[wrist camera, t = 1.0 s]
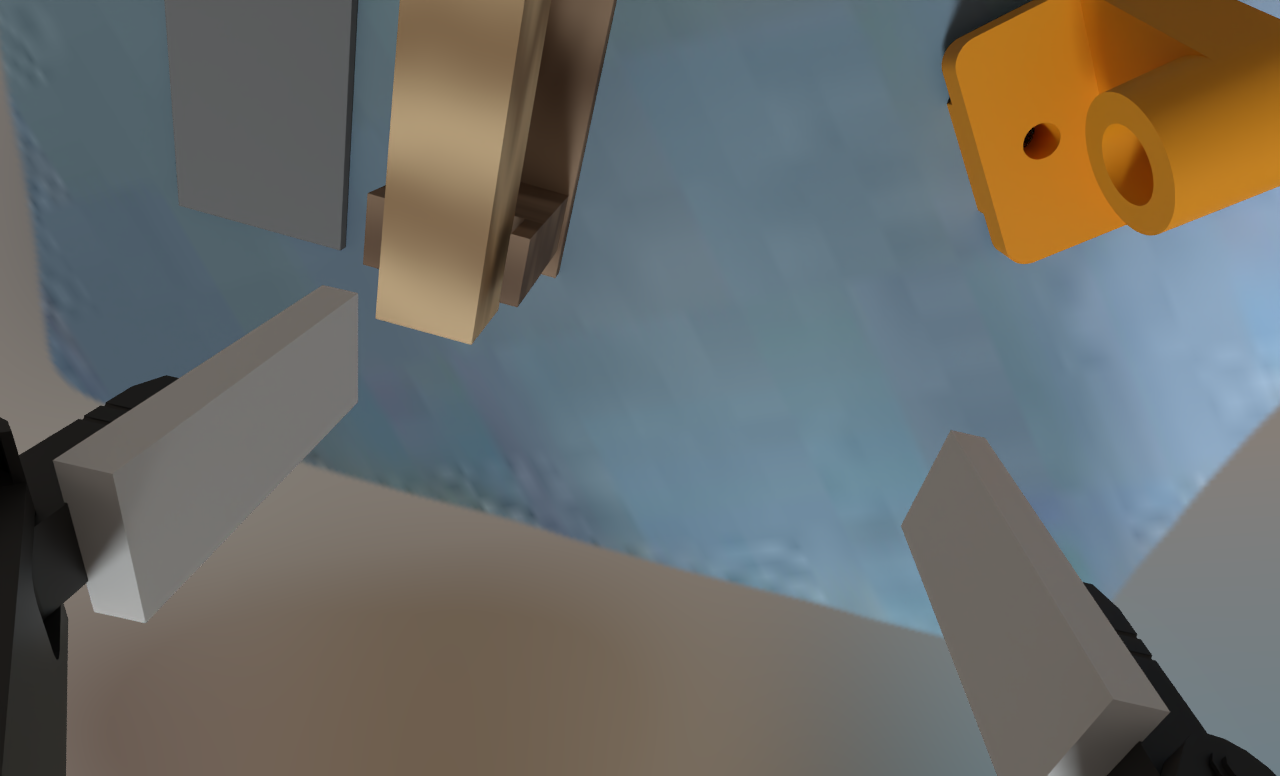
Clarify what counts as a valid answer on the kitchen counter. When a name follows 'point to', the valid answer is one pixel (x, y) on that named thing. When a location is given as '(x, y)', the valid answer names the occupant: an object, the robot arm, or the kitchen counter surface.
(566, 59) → the bracket
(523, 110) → the rail
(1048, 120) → the orange hinge mount
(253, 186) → the mat
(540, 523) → the kitchen counter surface
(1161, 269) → the kitchen counter surface
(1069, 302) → the kitchen counter surface
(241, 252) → the kitchen counter surface
